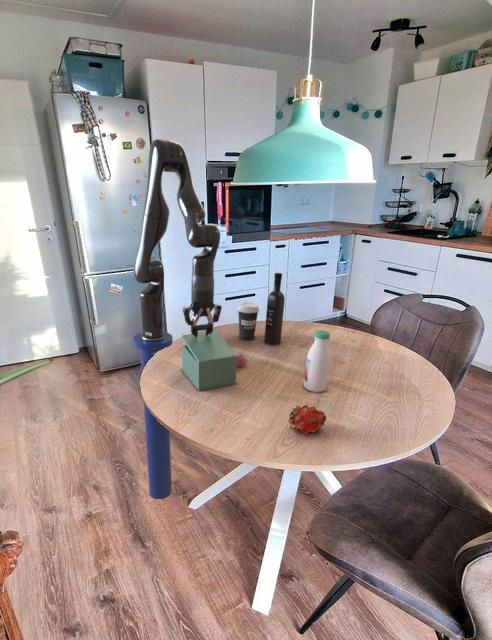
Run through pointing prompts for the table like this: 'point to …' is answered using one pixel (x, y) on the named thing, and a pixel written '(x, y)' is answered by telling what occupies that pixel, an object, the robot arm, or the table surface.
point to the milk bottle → (318, 363)
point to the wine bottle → (274, 313)
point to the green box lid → (208, 345)
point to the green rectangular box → (208, 371)
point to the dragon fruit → (306, 419)
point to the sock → (240, 360)
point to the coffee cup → (247, 320)
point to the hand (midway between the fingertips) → (201, 334)
